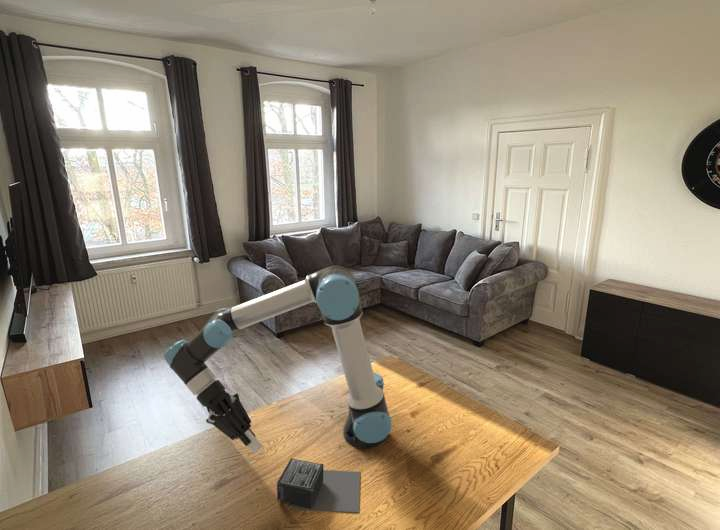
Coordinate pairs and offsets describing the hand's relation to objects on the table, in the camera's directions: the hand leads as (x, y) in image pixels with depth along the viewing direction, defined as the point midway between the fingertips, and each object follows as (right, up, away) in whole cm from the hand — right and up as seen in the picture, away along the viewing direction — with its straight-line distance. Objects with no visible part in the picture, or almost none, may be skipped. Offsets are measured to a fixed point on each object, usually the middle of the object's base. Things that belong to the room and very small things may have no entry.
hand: (258, 450), depth 112 cm
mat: (+20, -13, +2) cm, 24 cm away
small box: (+7, -9, +1) cm, 11 cm away
